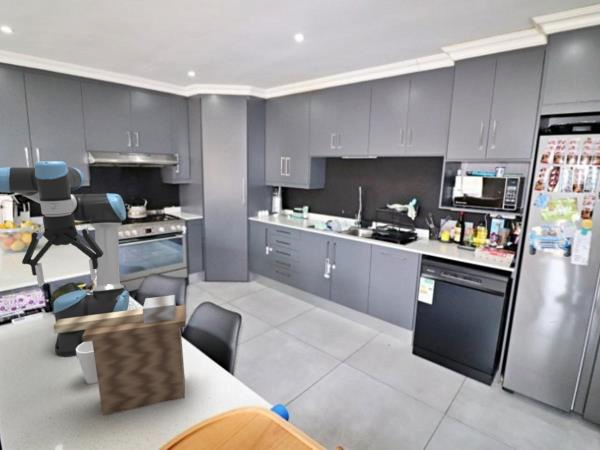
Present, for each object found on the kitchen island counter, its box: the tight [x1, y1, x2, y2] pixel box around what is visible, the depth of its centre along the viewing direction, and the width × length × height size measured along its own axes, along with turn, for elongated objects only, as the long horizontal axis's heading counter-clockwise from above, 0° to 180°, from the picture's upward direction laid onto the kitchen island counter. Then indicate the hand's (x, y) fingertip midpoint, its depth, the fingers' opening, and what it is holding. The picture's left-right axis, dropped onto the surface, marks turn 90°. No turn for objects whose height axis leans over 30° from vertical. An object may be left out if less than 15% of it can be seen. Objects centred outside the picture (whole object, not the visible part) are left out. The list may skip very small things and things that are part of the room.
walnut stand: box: [82, 304, 187, 416], centre depth 107 cm, size 28×12×28 cm, turn 109°
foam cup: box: [76, 341, 98, 385], centre depth 117 cm, size 10×9×13 cm
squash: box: [50, 281, 83, 311], centre depth 171 cm, size 14×15×15 cm
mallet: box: [53, 294, 177, 335], centre depth 102 cm, size 33×8×5 cm, turn 109°
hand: (68, 281), depth 101 cm, fingers open, 13 cm apart
